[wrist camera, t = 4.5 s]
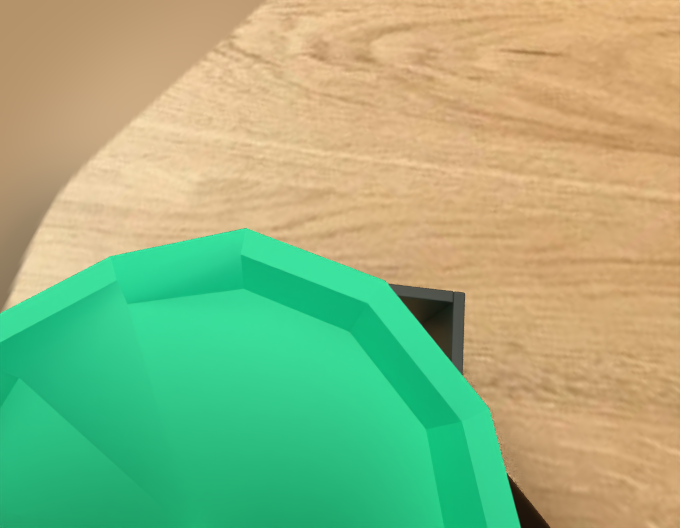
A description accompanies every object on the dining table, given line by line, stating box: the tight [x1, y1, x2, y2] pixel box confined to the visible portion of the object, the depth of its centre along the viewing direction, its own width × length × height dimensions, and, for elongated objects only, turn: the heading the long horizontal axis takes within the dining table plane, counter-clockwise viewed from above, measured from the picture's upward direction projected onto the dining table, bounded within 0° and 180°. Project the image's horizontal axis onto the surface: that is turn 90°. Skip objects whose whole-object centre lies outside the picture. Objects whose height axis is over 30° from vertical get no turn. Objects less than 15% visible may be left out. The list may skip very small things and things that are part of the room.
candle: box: [0, 228, 521, 528], centre depth 8 cm, size 6×6×12 cm
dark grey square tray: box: [388, 284, 465, 376], centre depth 12 cm, size 9×9×4 cm
